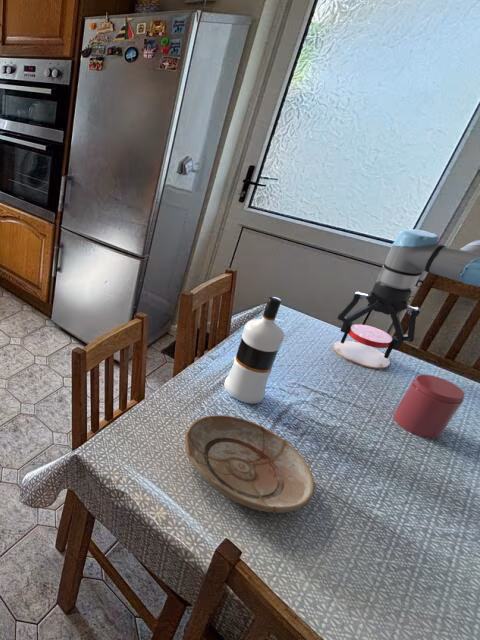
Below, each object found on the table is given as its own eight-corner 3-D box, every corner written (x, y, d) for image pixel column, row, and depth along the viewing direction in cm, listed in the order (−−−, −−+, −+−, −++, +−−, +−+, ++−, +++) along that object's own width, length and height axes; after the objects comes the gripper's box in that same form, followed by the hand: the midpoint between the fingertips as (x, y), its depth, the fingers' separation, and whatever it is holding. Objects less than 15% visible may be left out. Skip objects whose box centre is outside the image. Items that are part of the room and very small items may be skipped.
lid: (339, 330, 127) (342, 324, 126) (368, 328, 127) (371, 323, 126) (368, 349, 118) (370, 343, 118) (399, 347, 119) (401, 342, 118)
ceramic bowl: (183, 416, 105) (187, 401, 103) (296, 451, 95) (303, 436, 93) (179, 492, 87) (183, 476, 85) (317, 546, 77) (327, 530, 75)
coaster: (391, 354, 125) (392, 353, 125) (387, 375, 117) (388, 373, 117) (336, 336, 134) (337, 335, 134) (329, 354, 126) (330, 353, 126)
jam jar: (440, 424, 101) (466, 386, 96) (440, 444, 96) (467, 405, 91) (394, 406, 107) (415, 368, 102) (391, 424, 102) (413, 385, 96)
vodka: (215, 386, 115) (243, 293, 102) (239, 377, 118) (270, 286, 105) (246, 409, 107) (281, 312, 94) (271, 399, 110) (308, 304, 97)
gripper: (452, 292, 110) (415, 359, 119) (346, 267, 124) (320, 328, 134) (452, 303, 105) (414, 371, 115) (342, 275, 120) (316, 338, 129)
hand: (363, 348), depth 124 cm, fingers closed on lid, 9 cm apart
